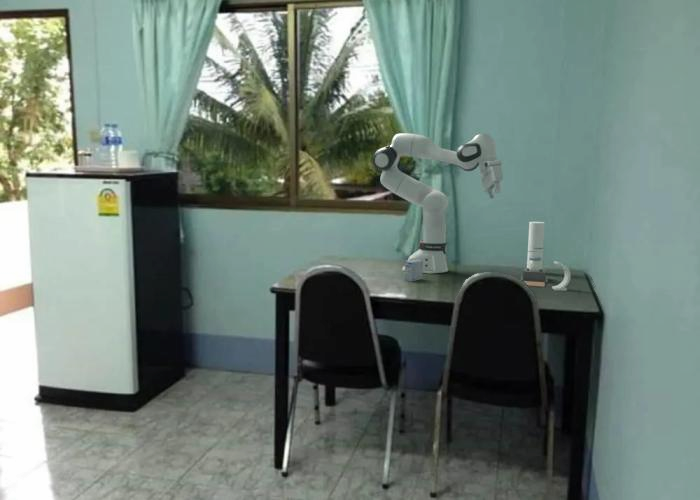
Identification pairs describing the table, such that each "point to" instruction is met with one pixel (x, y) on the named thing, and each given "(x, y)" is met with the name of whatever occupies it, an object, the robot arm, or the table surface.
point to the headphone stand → (565, 281)
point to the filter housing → (534, 275)
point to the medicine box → (413, 270)
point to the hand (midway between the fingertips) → (494, 195)
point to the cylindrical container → (535, 241)
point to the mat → (535, 284)
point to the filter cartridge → (534, 264)
